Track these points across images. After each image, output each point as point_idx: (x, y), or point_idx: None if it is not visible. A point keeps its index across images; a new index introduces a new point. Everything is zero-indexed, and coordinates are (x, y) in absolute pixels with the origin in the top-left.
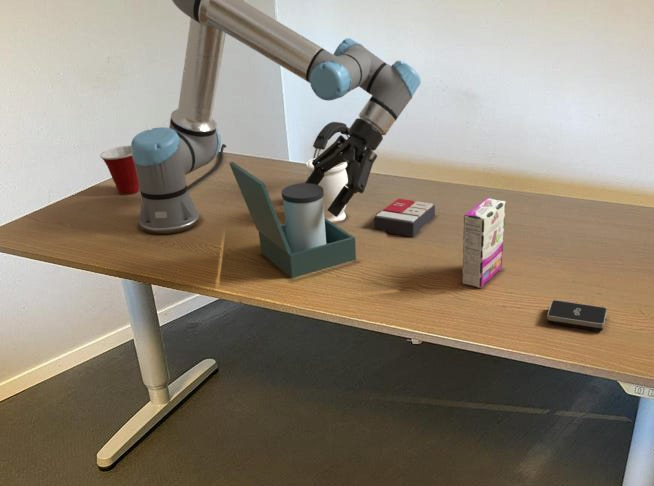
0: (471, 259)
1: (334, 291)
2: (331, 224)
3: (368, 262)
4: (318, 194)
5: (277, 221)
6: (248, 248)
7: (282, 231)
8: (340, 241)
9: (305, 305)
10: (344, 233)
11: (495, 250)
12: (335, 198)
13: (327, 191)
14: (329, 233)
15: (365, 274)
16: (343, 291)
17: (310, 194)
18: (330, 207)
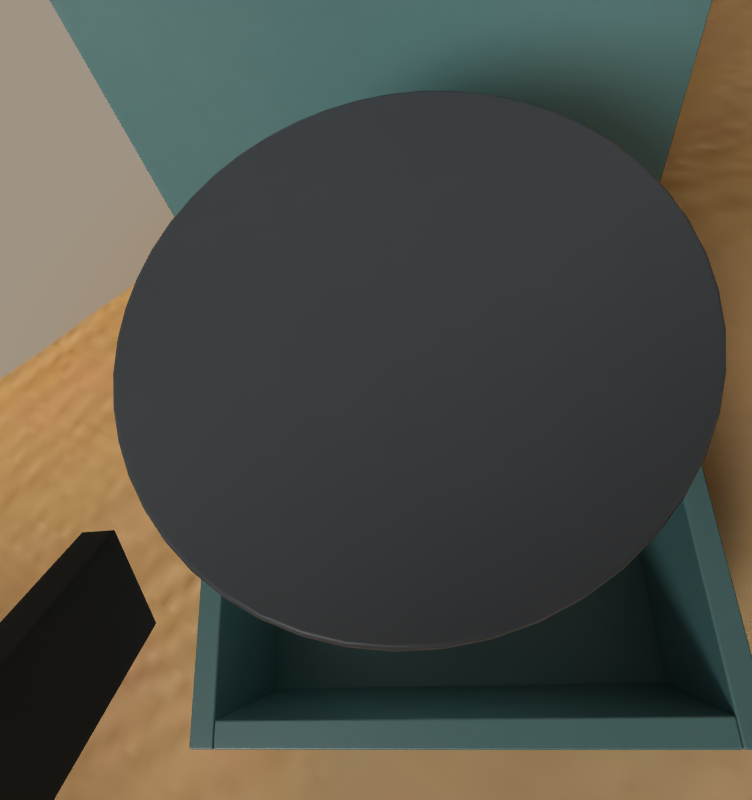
0: None
1: (98, 464)
2: (512, 722)
3: (227, 775)
4: (125, 451)
5: (93, 63)
6: (716, 280)
7: (139, 154)
8: (200, 616)
9: (88, 330)
10: (299, 720)
11: None
12: (4, 660)
13: None
14: (539, 698)
15: (130, 673)
16: (74, 497)
17: (195, 359)
18: (71, 561)
